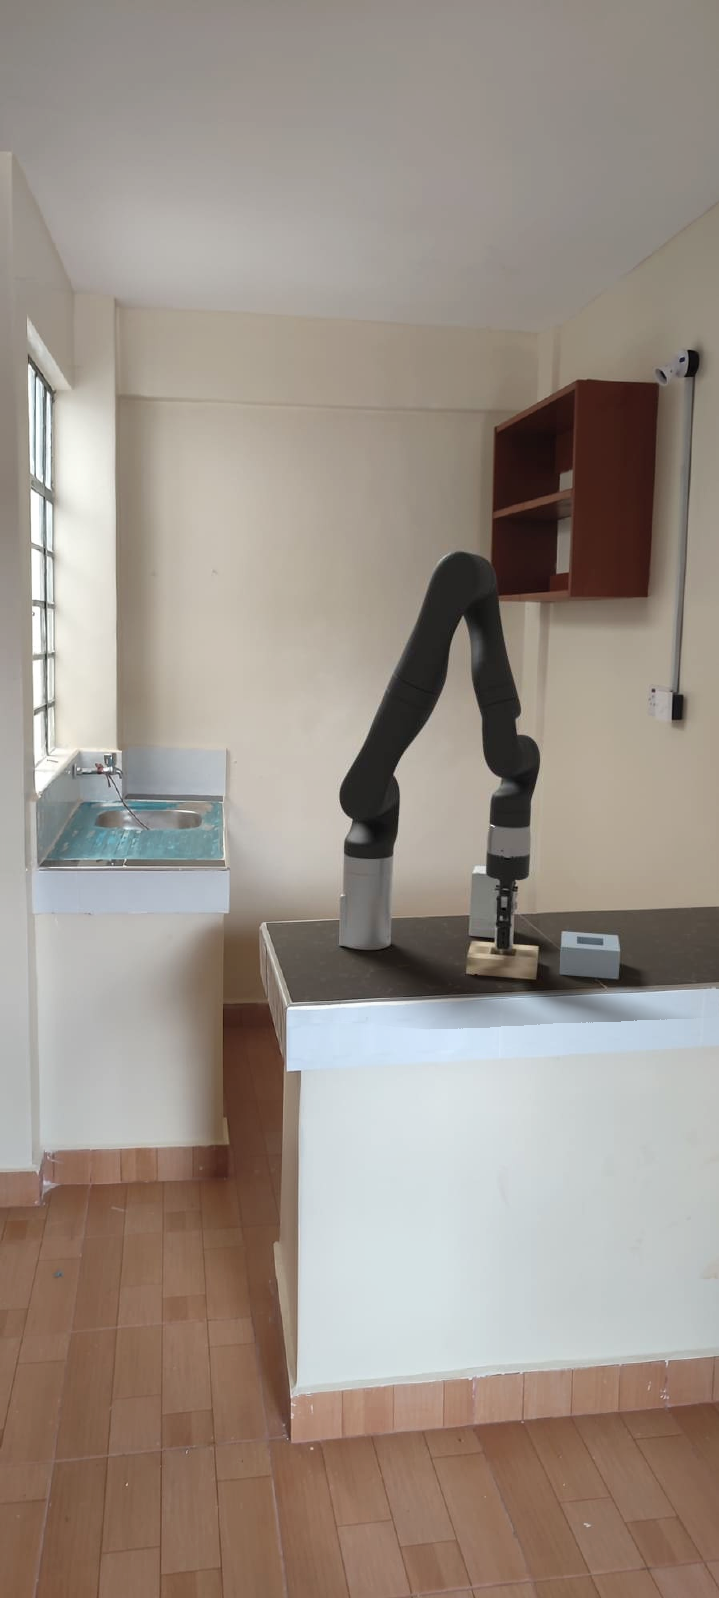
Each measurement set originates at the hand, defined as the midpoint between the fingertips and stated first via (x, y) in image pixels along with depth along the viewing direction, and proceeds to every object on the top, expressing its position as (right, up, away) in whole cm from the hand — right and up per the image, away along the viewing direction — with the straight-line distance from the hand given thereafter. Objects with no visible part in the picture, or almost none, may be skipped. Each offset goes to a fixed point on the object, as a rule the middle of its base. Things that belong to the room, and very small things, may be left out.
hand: (503, 943), depth 200 cm
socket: (+15, -5, +2) cm, 16 cm away
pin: (0, -4, +1) cm, 4 cm away
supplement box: (0, -1, +23) cm, 23 cm away
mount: (0, -4, +1) cm, 4 cm away
